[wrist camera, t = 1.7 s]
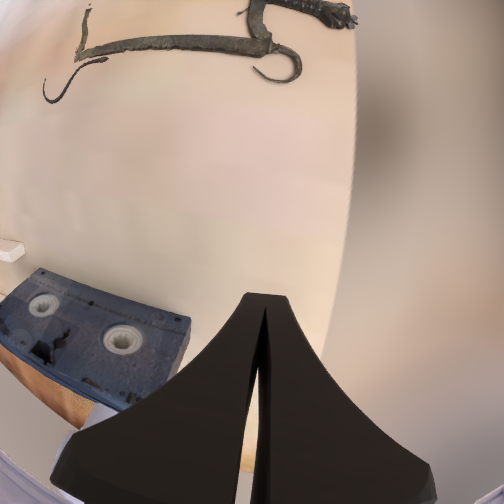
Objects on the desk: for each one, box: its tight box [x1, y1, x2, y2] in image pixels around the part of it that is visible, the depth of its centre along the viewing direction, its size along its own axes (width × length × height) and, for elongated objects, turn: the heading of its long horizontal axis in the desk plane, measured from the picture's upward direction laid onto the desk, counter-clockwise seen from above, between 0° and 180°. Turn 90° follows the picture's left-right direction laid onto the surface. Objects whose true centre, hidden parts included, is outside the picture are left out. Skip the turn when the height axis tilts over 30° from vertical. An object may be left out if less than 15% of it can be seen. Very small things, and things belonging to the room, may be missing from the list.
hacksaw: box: [43, 0, 358, 104], centre depth 13 cm, size 24×10×2 cm, turn 77°
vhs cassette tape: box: [0, 268, 191, 413], centre depth 19 cm, size 18×3×10 cm, turn 77°
